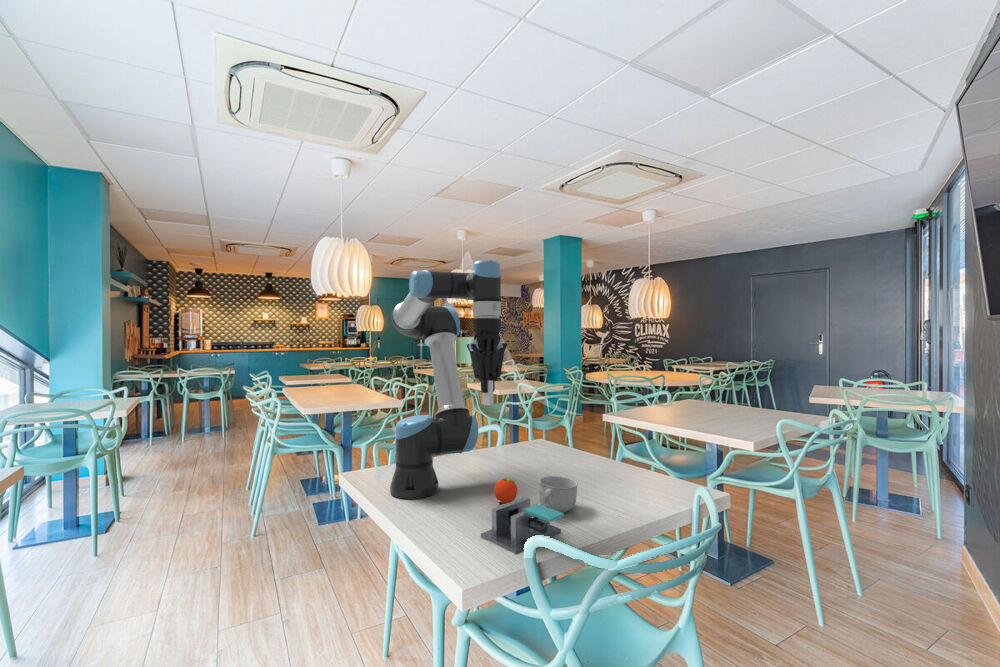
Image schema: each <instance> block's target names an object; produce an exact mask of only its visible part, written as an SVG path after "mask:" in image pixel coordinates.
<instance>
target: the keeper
mask: <svg viewBox="0 0 1000 667" xmlns="http://www.w3.org/2000/svg"><path fill="white" fill-rule="evenodd" d="M523 512H525V513H527V514H530V515H533V516H535V517H538V518H540V519H543V520H546V521H548V522H550V523H552V522H554V521H557V520H558V519H561V518H563V517H565V515H564V514H565V512H564V513H561V512H559V511H556V510H553V509H550V508H547V507H544V506H542V505H541V504H539V503H536V504H533V505H530V507H527V508H525V509H523Z"/></svg>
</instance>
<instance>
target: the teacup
mask: <svg viewBox="0 0 1000 667" xmlns="http://www.w3.org/2000/svg"><path fill="white" fill-rule="evenodd" d="M538 482H539V489H538V495H539V496H538V497H539V502H540V505H541V504H544V503H545V504H548V505H549V507H550V509H553V510H556V511H559V512H561V513H564V514H565V513H567V512H569V511H570V510H572V509H573V508H574V507H575V506H576V503H577V495H578V485H579V484H578V482H577V481H576V480H575V479H573V478H570V477H567V476H562V475H547V476H542V477H540V478H539V480H538Z"/></svg>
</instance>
